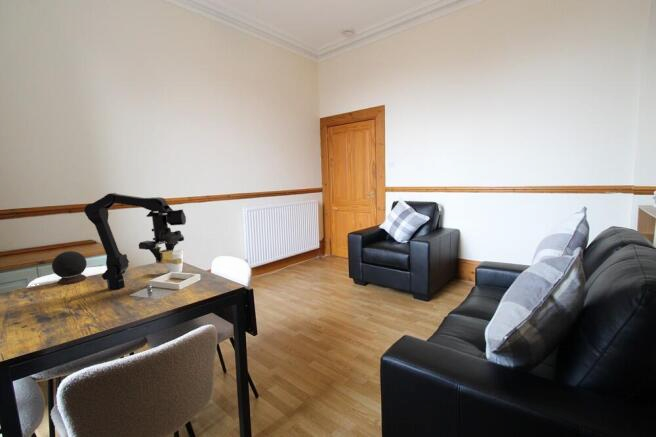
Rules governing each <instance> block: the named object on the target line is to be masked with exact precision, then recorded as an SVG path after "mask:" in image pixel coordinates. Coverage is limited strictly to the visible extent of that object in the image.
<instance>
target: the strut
mask: <svg viewBox="0 0 656 437" xmlns="http://www.w3.org/2000/svg"><path fill="white" fill-rule="evenodd" d="M155 263H156V264H161V265H164V264H165V265H166V263H172V264H180V263H182V260H181V258H178V259H173V251H172V250H166V248H165V249H160V262H158V261H157V259H156V258H155Z"/></svg>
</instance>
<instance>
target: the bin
mask: <svg viewBox="0 0 656 437" xmlns="http://www.w3.org/2000/svg"><path fill="white" fill-rule="evenodd" d="M172 278H173V279H183V280H182V281H180V282H172V281H168V280H170V279H172ZM200 280H201V274H200V273H189V272H188V273H187V272H181V273H180V272H170V273H169V272H168V273H165V274H162V275H160V276H157V277H155V278H153V279H150V280H148V284H149V285H150V286H152V288H159V289H168V290H182V289H184V288H187V287H188V286H190V285H192V284H195V283H196V282H198V281H200ZM149 285H148V286H149Z"/></svg>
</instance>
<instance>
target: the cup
mask: <svg viewBox="0 0 656 437" xmlns="http://www.w3.org/2000/svg"><path fill="white" fill-rule="evenodd" d="M178 258H181V260H182V263H180V264H172V263H165V265H166V267H167V272H168V273H170V272H180V273H183V264H184V263H183V262H184V260H183V259H184V250H182V249H173V259H178Z"/></svg>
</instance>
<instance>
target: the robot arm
mask: <svg viewBox="0 0 656 437" xmlns="http://www.w3.org/2000/svg"><path fill="white" fill-rule="evenodd" d="M115 204H119V205H126V206H133V207H139V208H143V209H145V210H146V211H147V210H148V211H149V213H147V214H146V218H151V220H152V227H153V228H152V229H151V232H153V236H154V237H152V240H145V241H141V242H139V244H138V249H139V250H149V251H150V252H151V254H152V255H153V256H154V257H155V260H156V259H157V261H158V262H160V251H161V248H162V246H159V245H162V244H164V245H165V249H166V250H172V251H173V250H175V247H176V246H177V245H178V244H179V242H183V241H185V236H184V235H183V234H182V231H181V230H179V229H178V230H175V231H172V230H171V227H169V226H184V225H186V222H187V217H186V214H185V213H184V209H175V210H173V209H172V207H171V206H170V205H168V203H167V201H166V199H165V198H164V197H139V196H134V195H127V194H120V193H116V192H112V193H111V192H110V193H107V194H106V195H104V196H103V197H100V198H99V199H97V200H96V201H94V202H93V203H88V204H87V205H86V206H85V207H84V209H83V211H84V214H85V216H86V218H87V219H88V220H89V222H91V223H92V224H93V225H94V226H95V229H96V231H97V235H98V236H99V239H100V242H101V245H102V247H103V249H104V252H105V255H106V260H105V266H106V270H105V271H104V272H103V273H102V275H101V278H102V279H103V281H106V286H107V289H108V290H109V291H114V290H115V291H116V290H122V289H124V288H125V287H126V286H125V279H124V275H123V274H126V270H127V269H128V267H129V263H130V261H129V259H128V255H127V254H126V253H125V254H122V253H121V252H120V250H119V248H118V245H117V242H116V240H115V238H114V234H113V232H112V229H111V226H110V224H109V209H110V208H112V207H113V206H114V205H115Z"/></svg>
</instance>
